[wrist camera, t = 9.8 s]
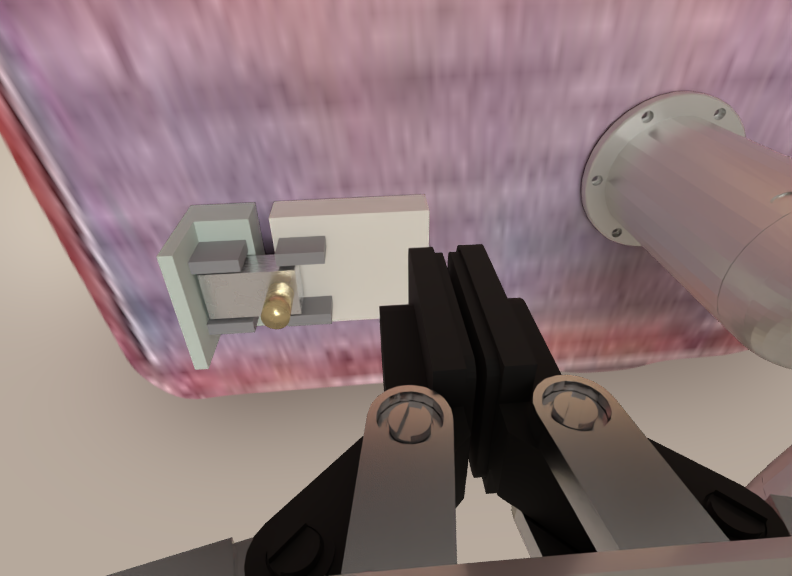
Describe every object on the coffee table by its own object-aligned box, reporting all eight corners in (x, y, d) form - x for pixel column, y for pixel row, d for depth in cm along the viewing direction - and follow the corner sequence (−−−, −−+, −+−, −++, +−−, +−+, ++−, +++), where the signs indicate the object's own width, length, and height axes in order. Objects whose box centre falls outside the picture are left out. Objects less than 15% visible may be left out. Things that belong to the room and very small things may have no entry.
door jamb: (255, 202, 38) (234, 252, 32) (275, 304, 44) (261, 365, 37) (190, 205, 38) (156, 256, 31) (219, 307, 44) (195, 369, 37)
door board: (424, 194, 39) (433, 225, 34) (423, 296, 44) (430, 334, 40) (274, 201, 38) (263, 233, 34) (291, 303, 44) (284, 342, 39)
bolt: (297, 253, 37) (289, 293, 33) (304, 295, 40) (297, 338, 35) (205, 258, 37) (185, 299, 33) (217, 300, 39) (199, 344, 35)
